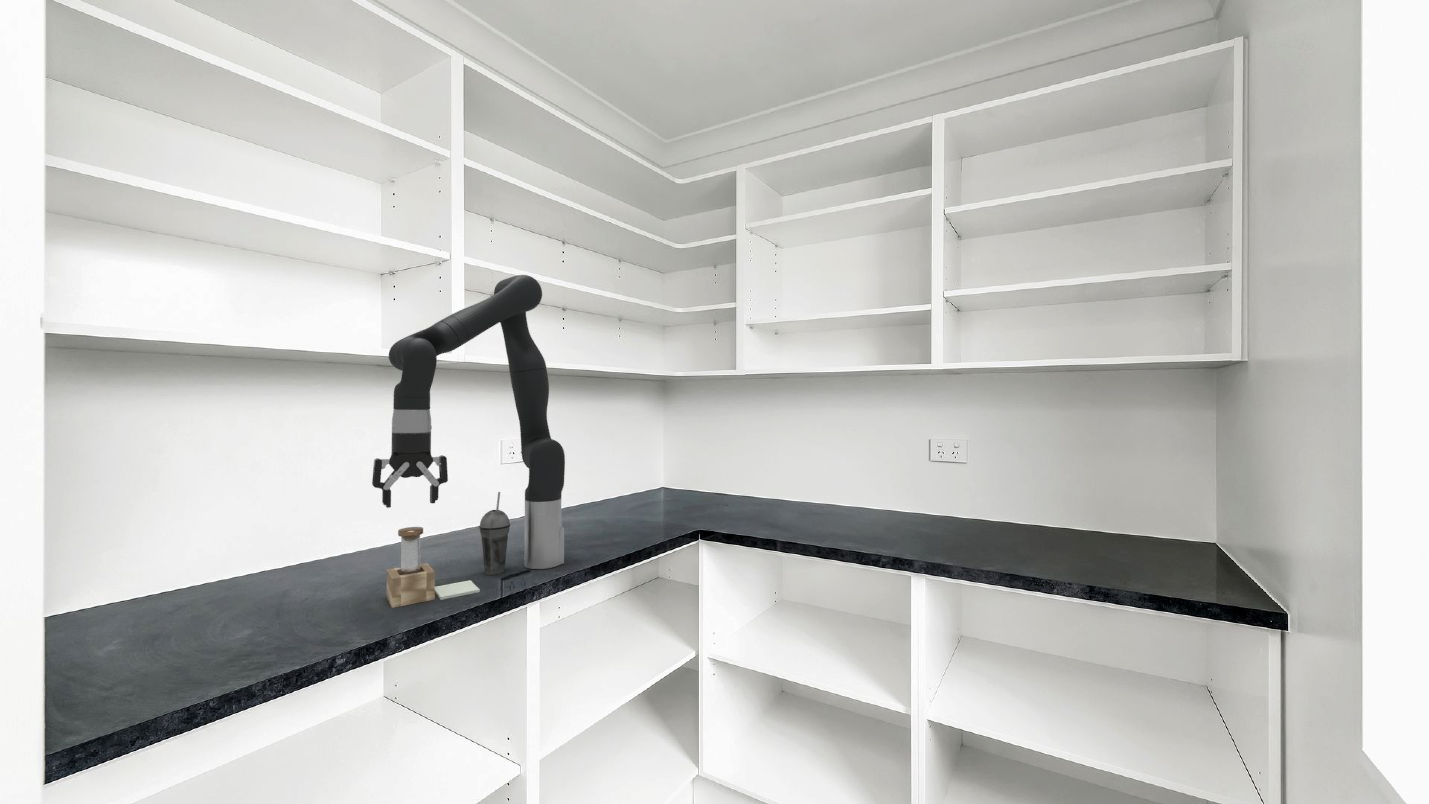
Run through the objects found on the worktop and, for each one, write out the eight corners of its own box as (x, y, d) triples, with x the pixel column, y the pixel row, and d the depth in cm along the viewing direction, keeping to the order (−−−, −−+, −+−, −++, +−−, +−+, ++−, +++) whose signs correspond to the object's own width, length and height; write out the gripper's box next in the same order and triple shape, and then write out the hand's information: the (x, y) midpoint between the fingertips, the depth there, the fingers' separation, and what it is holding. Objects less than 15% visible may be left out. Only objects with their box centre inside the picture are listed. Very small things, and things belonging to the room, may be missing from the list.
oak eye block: (427, 589, 126) (427, 563, 126) (434, 599, 119) (434, 571, 119) (386, 596, 121) (386, 569, 121) (392, 607, 114) (392, 579, 114)
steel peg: (420, 592, 123) (421, 525, 123) (424, 599, 120) (425, 529, 120) (396, 597, 120) (396, 528, 120) (399, 604, 117) (400, 533, 117)
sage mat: (470, 582, 130) (470, 580, 130) (479, 592, 124) (479, 589, 124) (432, 589, 125) (432, 587, 125) (440, 599, 119) (440, 597, 119)
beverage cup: (472, 573, 138) (473, 493, 138) (498, 566, 144) (498, 489, 144) (490, 578, 134) (490, 495, 134) (516, 570, 140) (516, 491, 140)
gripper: (443, 429, 127) (442, 499, 127) (371, 430, 119) (370, 505, 119) (451, 430, 121) (450, 504, 121) (375, 432, 113) (374, 511, 113)
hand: (410, 505), depth 120 cm, fingers open, 8 cm apart
